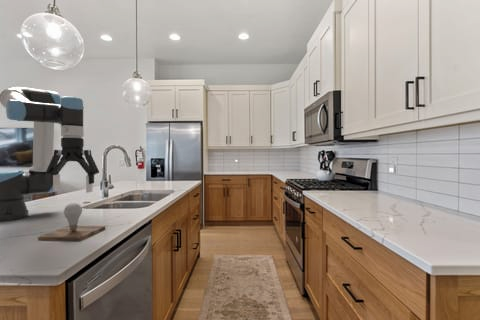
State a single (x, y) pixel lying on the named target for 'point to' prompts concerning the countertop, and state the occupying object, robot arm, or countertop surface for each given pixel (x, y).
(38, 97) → the robot arm
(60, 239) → the plate
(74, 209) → the lightbulb
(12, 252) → the countertop surface
